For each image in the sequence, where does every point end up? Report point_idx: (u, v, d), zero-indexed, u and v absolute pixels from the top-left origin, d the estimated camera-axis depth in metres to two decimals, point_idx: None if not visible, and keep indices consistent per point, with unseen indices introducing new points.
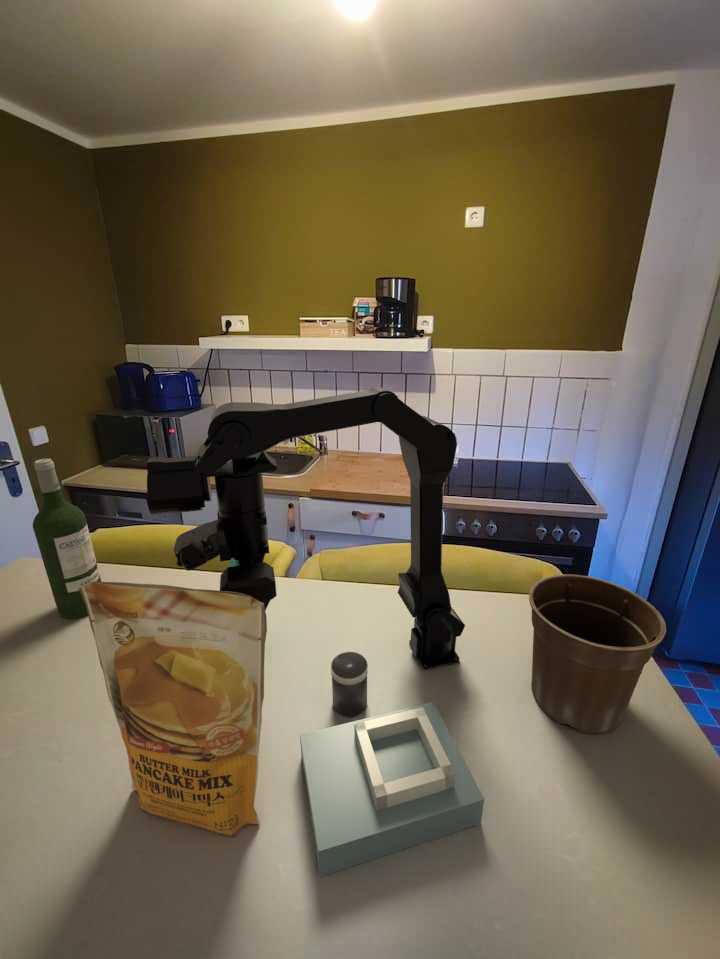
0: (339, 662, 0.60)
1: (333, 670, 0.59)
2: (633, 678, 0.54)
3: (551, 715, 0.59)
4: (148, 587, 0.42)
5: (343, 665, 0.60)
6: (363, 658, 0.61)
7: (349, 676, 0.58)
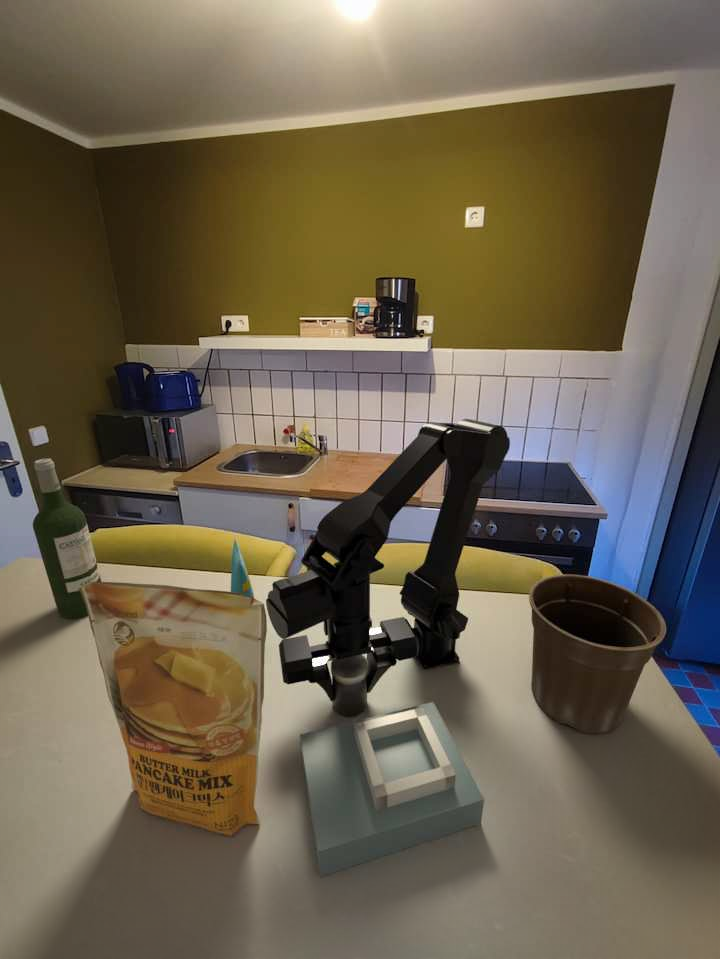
0: (340, 661, 0.60)
1: (333, 670, 0.59)
2: (633, 678, 0.54)
3: (551, 715, 0.59)
4: (148, 587, 0.42)
5: (343, 664, 0.60)
6: (363, 658, 0.61)
7: (349, 676, 0.58)
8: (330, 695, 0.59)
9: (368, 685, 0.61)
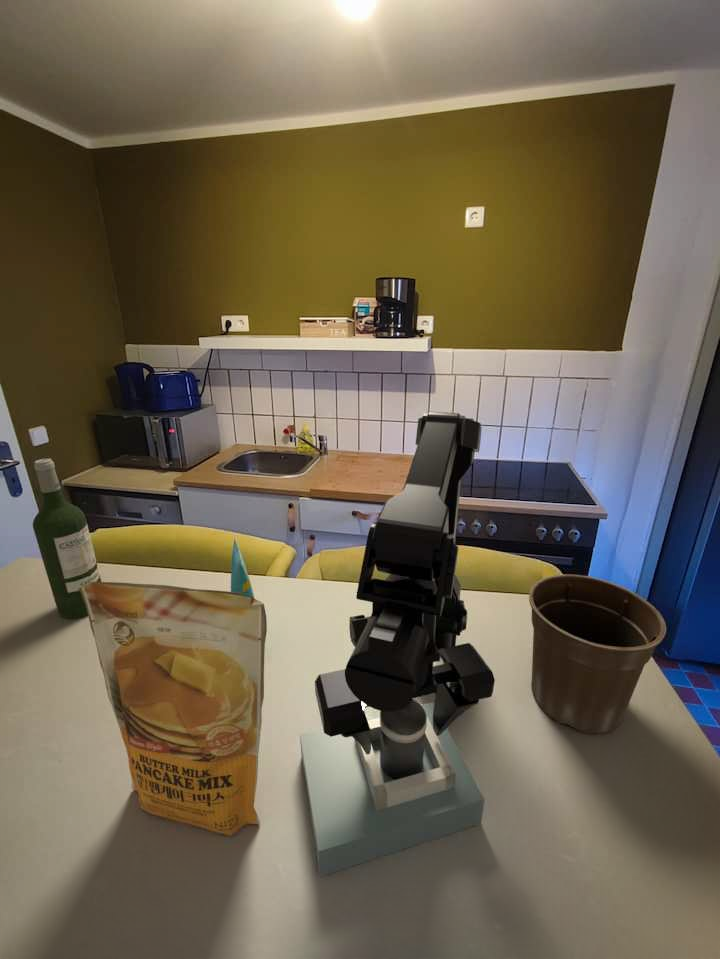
0: None
1: (384, 723, 0.47)
2: (633, 678, 0.54)
3: (551, 715, 0.59)
4: (148, 587, 0.42)
5: (396, 715, 0.47)
6: (419, 705, 0.49)
7: (406, 732, 0.45)
8: (366, 748, 0.46)
9: (439, 727, 0.49)
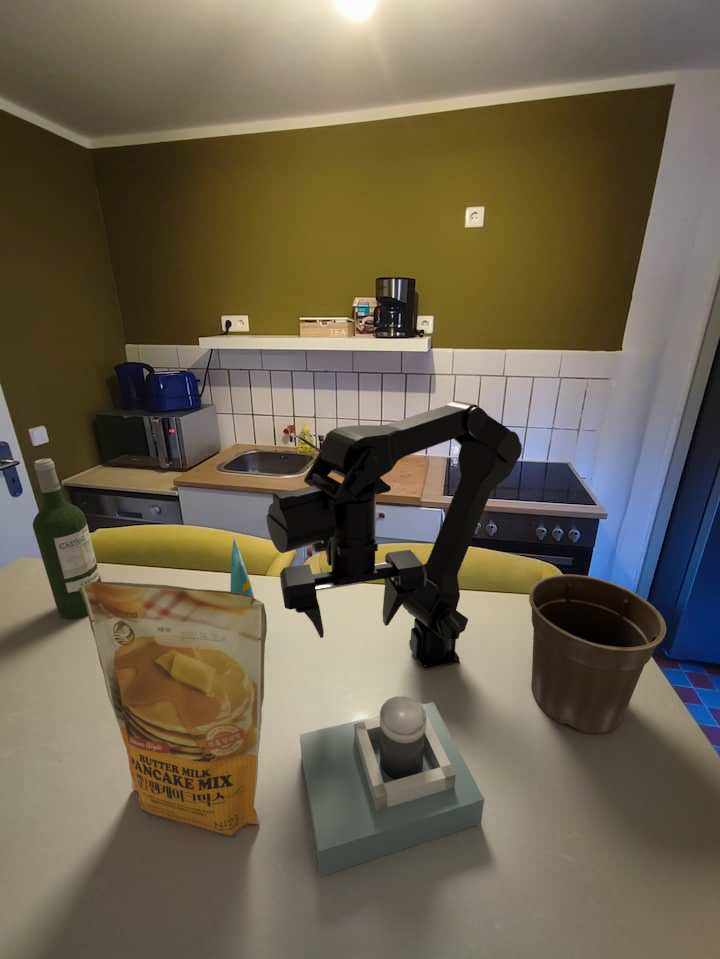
0: (390, 711, 0.48)
1: (384, 723, 0.47)
2: (633, 678, 0.54)
3: (551, 715, 0.59)
4: (148, 587, 0.42)
5: (396, 715, 0.47)
6: (419, 705, 0.49)
7: (405, 732, 0.46)
8: (319, 630, 0.56)
9: (386, 616, 0.59)
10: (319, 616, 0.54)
